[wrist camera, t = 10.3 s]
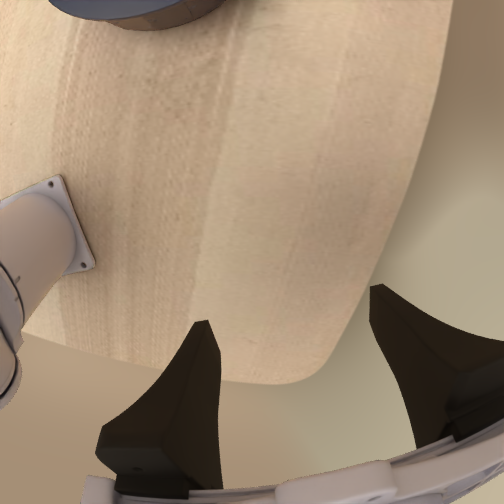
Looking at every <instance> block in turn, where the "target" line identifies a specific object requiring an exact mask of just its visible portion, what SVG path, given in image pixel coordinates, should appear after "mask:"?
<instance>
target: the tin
mask: <svg viewBox="0 0 504 504" xmlns="http://www.w3.org/2000/svg"><path fill="white" fill-rule="evenodd" d="M224 1H226V0H189V1H187V2H184V3H182V4H180V5H178V6H176V7H173V8H170V9H167V10H164V11H162V12H159V13H155V14H151V15H148V16H144V17H139V18H134V19H129V20H120V21H106V22H108V23H111V24H113V25H115V26H118V27H121V28H123V29H127V30H139V31H152V30H161V29H168V28H172V27H176V26H180V25H183V24H186V23H189V22H191V21H193V20H196V19H198V18H200V17H202V16H204V15H206V14H207V13H209V12H211V11H212V10H214V9H215V8H217V7H218V6H220V5H221V4H222V3H223V2H224Z"/></svg>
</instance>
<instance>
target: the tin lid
mask: <svg viewBox="0 0 504 504" xmlns="http://www.w3.org/2000/svg"><path fill="white" fill-rule="evenodd" d="M187 1H189V0H49V2H50V3H51V4H52V5H53V6H55V7H56V8H58V9H59V10H61V11H63V12H65V13H67V14H69V15H72V16H74V17H78V18H82V19H85V20H93V21H120V20H129V19H134V18H139V17H144V16H148V15H151V14H155V13H159V12H162V11H164V10H167V9H170V8H173V7H176V6H178V5H180V4H182V3H184V2H187Z"/></svg>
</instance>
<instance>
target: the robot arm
mask: <svg viewBox="0 0 504 504" xmlns="http://www.w3.org/2000/svg"><path fill="white" fill-rule="evenodd" d="M51 181H52V182H53V184H54V186H52V185H51ZM83 263H85V264H86V266H85V265H84V264H83ZM94 266H95V260H94V258H93V256H92V253H91V251H90V249H89V246H88V244H87V242H86V239H85V237H84V234H83V232H82V229H81V227H80V224H79V222H78V219H77V217H76V214H75V212H74V209H73V206H72V204H71V201H70V198H69V195H68V193H67V190H66V187H65V184H64V181H63V178H62V177H61V176H60V175H55V176H52V177H50V178H48V179H45V180H43V181H41V182H39V183H36V184H34V185H32V186H30V187H28V188H26V189H23V190H21V191H19V192H17V193H15V194H13V195H11V196H9V197H7V198H5V199H3V200H1V201H0V410H2V409H3V408H4V407H5V406H6V405H7V404H8V403H9V402H10V401H11V399H12V398H13V397H14V395H15V393H16V392H17V390H18V387H19V385H20V381H21V376H22V368H21V364H20V360H19V359H18V357H17V355H16V353H17V352H18V350H19V348H20V347H21V345H22V344H23V339H22V336H21V329H22V328H23V326H24V325H25V323H26V322H27V321H28V319H29V318H30V316H31V315H32V314H33V312H34V311H35V309H36V308H37V307H38V305H39V304H40V303H41V301H42V300H43V299H44V297H45V296H46V295H47V293H48V292H49V291H50V289H51V288H52V287H53V285H54V284H55V283H56V282H57V280H58V279H59V278H60V276H64V275H68V274H73V273H77V272H81V271H86V270H90V269H93V267H94ZM369 322H370V325H371V328H372V330H373V333H374V336H375V338H376V341H377V343H378V345H379V347H380V348H381V351H382V352H383V354H384V356H385V358H386V360H387V362H388V364H389V366H390V368H391V370H392V372H393V374H394V375H395V378H396V380H397V382H398V385H399V388H400V391H401V394H402V397H403V399H404V402H405V406H406V409H407V412H408V415H409V419H410V423H411V427H412V431H413V434H414V438H415V443H416V448H417V449H416V450H414V451H411V452H408V453H405V454H403V455H400V456H397V457H394V458H391V459H388V460H375V461H370V462H365V463H362V464H358V465H354V466H350V467H346V468H342V469H339V470H334V471H330V472H324V473H320V474H315V475H309V476H304V477H300V478H295V479H291V480H287V481H285V482H283V483H281V484H277V485H269V486H260V487H250V488H238V489H223V482H222V474H221V464H220V453H219V440H218V439H219V437H218V406H219V395H220V383H221V353H220V350H219V347H218V344H217V342H216V339H215V337H214V334H213V331H212V329H211V326H210V324H209V321H208V320H204V321H198V322H195V323H194V324H193V326H192V327H191V329H190V331H189V333H188V334H187V336H186V338H185V340H184V341H183V343H182V345H181V346H180V348H179V349H178V351H177V353H176V354H175V356H174V357H173V359H172V360H171V362H170V363H169V365H168V366H167V368H166V369H165V370H164V372H163V373H162V374H161V376H160V377H159V378H158V379H157V381H156V382H155V383H154V384H153V385H152V386H151V387H150V388H149V389H148V390H147V392H145V393H144V394H143V395H142V396H141V397H140V398H139V399H138V400H137V401H136V402H135V403H134V404H133V405H131V406H130V407H129V408H128V409H126V410H125V411H124V412H123V413H121V414H120V415H119V416H117V417H116V418H114V419H113V420H111V421H110V422H108V423H107V424H105V425H103V426H102V429H101V432H100V435H99V439H98V443H97V447H96V451H95V454H96V456H97V458H98V459H99V460H100V461H101V462H102V463H103V464H105V465H106V466H107V467H108V468H110V469H111V470H112V471H113V472H115V473H116V474H117V477H116V481H115V480H113V479H110V478H105V477H98V476H92V475H88V476H87V477H86V481H85V485H84V489H83V494H82V498H81V503H80V504H449V503H451V502H453V501H455V500H457V499H459V498H461V497H463V496H465V495H466V494H468V493H470V492H472V491H473V490H475V489H477V488H479V487H480V486H482V485H484V484H485V483H487V482H488V481H490V480H492V479H493V478H495V477H496V476H498V475H499V474H501V473H502V472H504V341H500V340H495V339H489V338H485V337H481V336H477V335H474V334H471V333H468V332H465V331H462V330H460V329H457V328H455V327H452V326H450V325H448V324H445V323H444V322H441V321H439V320H437V319H436V318H434V317H432V316H430V315H428V314H427V313H425V312H423V311H422V310H420V309H418V308H417V307H415V306H414V305H412V304H411V303H409V302H408V301H406V300H405V299H403V298H402V297H401V296H399V295H398V294H396V293H395V292H394V291H392V290H391V289H389V288H388V287H387V286H385V285H384V284H379V285H375V286H370V314H369Z"/></svg>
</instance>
